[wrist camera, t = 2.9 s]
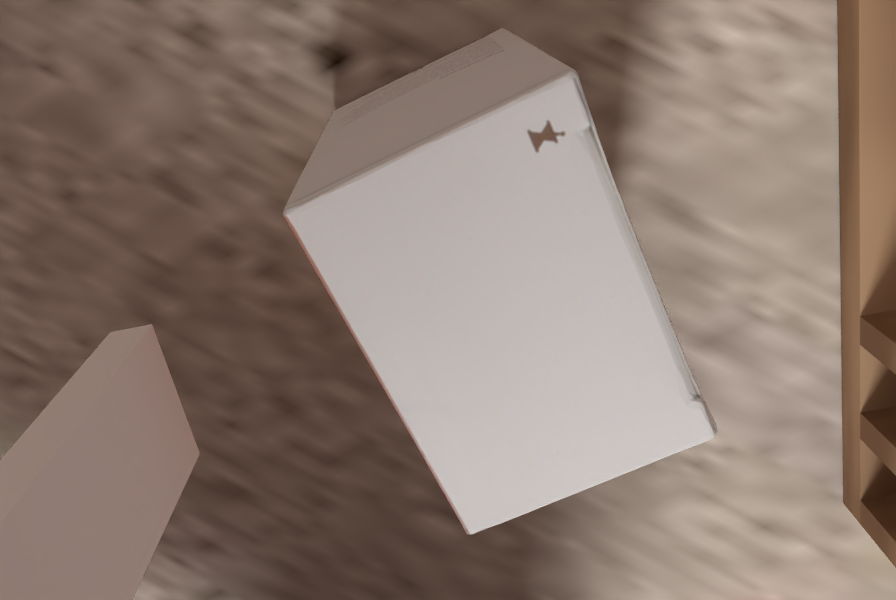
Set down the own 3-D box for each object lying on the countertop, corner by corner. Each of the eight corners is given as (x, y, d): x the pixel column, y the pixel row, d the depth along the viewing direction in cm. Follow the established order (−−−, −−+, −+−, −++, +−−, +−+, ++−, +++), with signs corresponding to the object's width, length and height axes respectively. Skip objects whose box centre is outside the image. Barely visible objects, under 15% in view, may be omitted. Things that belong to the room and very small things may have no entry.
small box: (329, 108, 23) (267, 202, 14) (507, 22, 23) (574, 55, 13) (446, 336, 26) (464, 548, 16) (607, 265, 25) (725, 443, 16)
